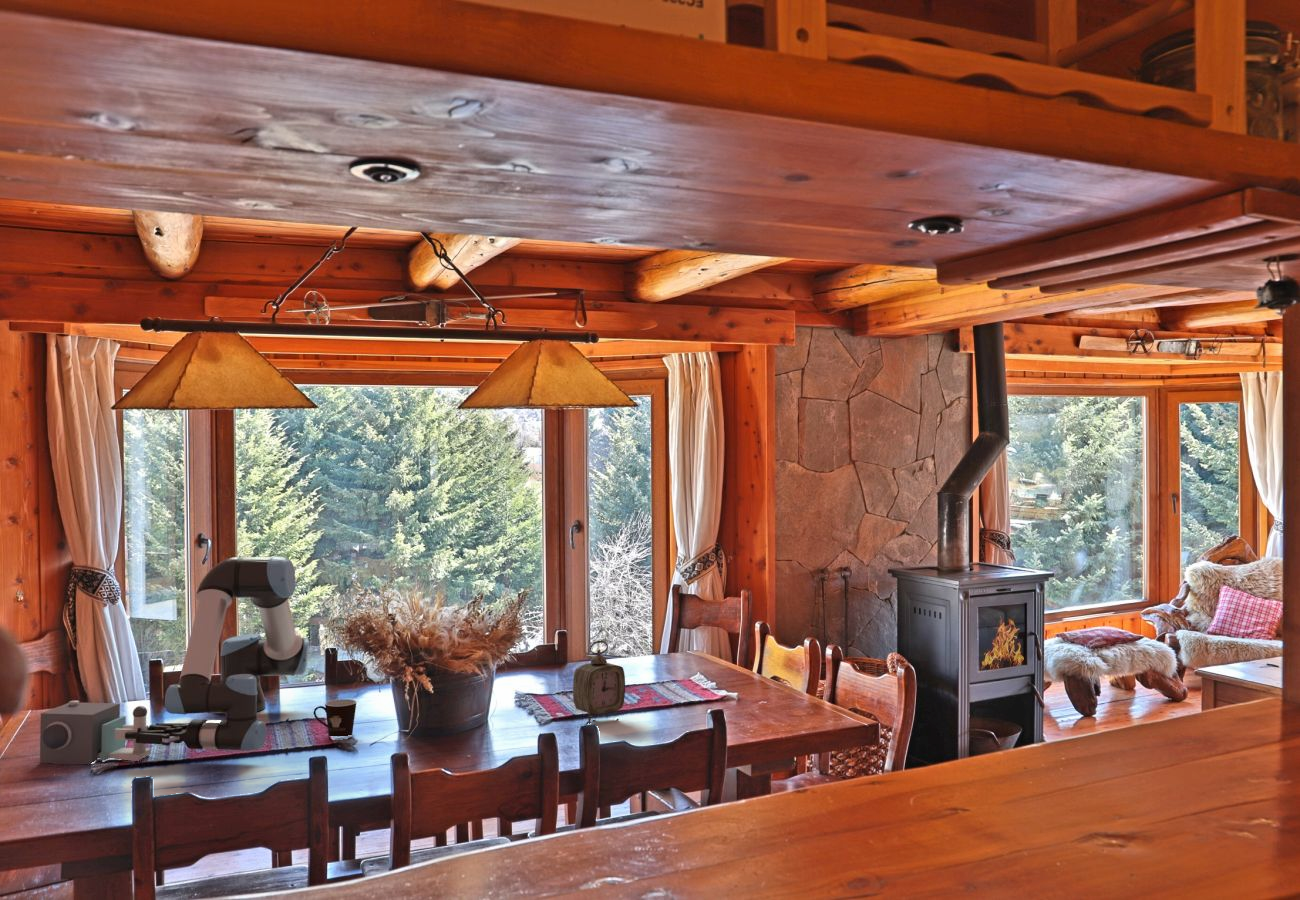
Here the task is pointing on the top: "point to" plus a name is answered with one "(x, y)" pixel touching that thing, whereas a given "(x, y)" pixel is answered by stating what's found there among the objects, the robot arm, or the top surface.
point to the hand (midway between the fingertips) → (119, 732)
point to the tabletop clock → (598, 686)
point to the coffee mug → (339, 716)
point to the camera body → (74, 732)
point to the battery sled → (117, 747)
